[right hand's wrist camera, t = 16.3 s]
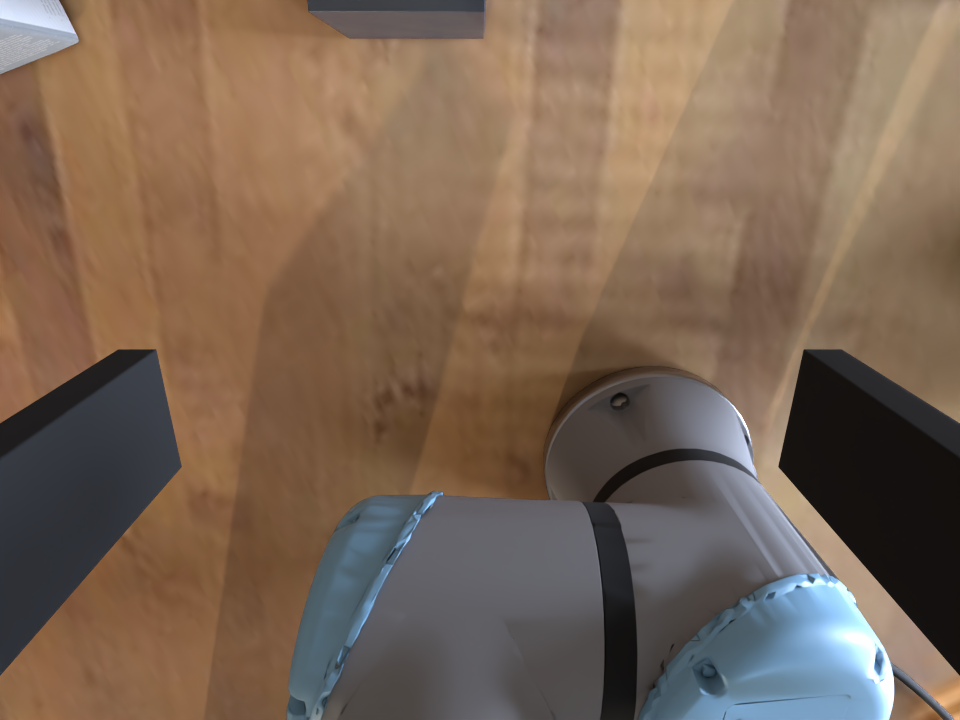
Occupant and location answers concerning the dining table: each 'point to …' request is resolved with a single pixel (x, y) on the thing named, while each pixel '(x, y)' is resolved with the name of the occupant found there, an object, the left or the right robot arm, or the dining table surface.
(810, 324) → the dining table surface
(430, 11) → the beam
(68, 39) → the hard drive box
